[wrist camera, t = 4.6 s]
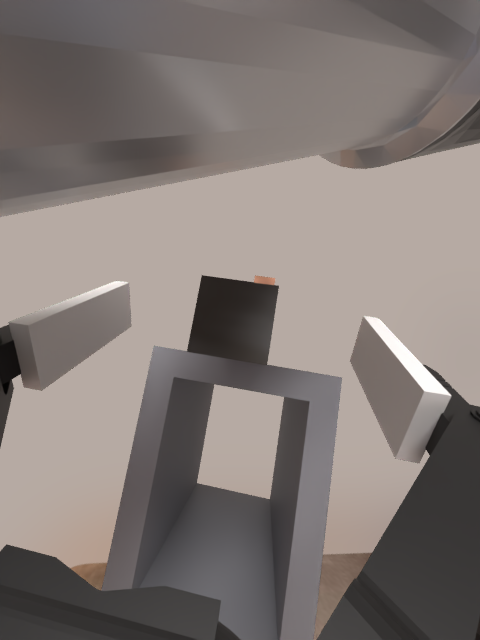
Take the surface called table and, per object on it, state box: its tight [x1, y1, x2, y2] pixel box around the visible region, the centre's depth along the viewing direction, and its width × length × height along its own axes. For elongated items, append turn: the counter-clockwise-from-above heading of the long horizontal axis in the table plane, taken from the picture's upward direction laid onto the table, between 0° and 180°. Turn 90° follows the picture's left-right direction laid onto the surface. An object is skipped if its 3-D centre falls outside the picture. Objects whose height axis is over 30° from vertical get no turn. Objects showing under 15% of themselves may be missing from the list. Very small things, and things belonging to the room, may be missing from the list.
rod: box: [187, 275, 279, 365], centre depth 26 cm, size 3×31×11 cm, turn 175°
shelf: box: [102, 346, 342, 640], centre depth 27 cm, size 14×19×30 cm
